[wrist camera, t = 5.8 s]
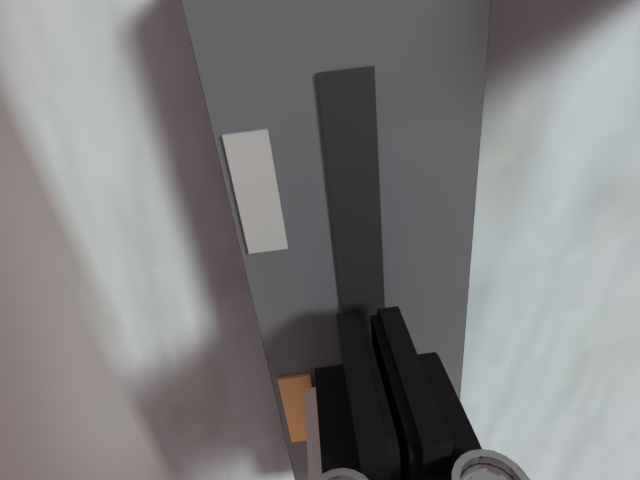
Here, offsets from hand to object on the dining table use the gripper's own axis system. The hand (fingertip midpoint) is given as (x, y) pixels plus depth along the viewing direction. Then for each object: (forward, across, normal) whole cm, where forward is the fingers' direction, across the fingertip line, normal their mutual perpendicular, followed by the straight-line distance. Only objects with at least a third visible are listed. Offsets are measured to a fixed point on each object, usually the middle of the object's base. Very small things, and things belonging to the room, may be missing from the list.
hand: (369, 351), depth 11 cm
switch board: (+3, 0, -1) cm, 3 cm away
